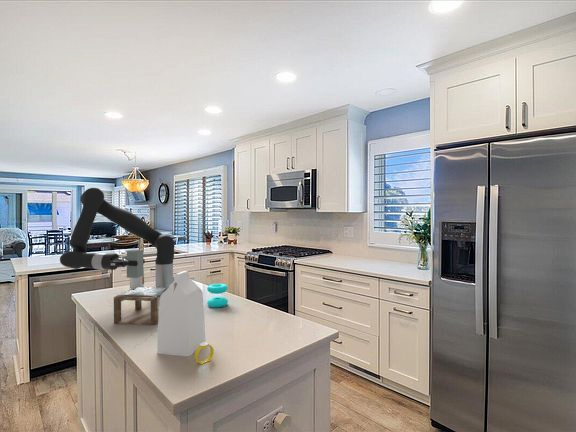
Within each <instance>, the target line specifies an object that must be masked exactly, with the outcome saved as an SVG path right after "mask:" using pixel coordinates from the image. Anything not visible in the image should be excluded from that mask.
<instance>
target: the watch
mask: <svg viewBox="0 0 576 432" xmlns="http://www.w3.org/2000/svg"><path fill="white" fill-rule="evenodd" d="M208 347H209V349H210V352H209V354H208V357H207V358H206V359H204V360H201V361H199V354H200V351H201V350H202V349H205V348H208ZM213 356H214V347H213V346H212V344H210V343H209V341H206V342H202V343H200V346H199V347H198V348H197V350H196V351H195V352H194V360H195V361H196V363H198V364H200V365H203V364H202V363H204V364H206V363H208V362H207V361H209V362H210V361H211V360H212V359H213ZM205 361H206V363H205Z"/></svg>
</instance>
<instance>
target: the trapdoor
mask: <svg viewBox="0 0 576 432" xmlns="http://www.w3.org/2000/svg"><path fill="white" fill-rule="evenodd" d="M166 290H167V288H156V287H154V288H150V287H147V286H144V287H139V288H136V289H134V290H133V289H129V290H126V291H124V292H122V293H119V294H117V295H116V296H131V297H158V296H157V295H159V294H161V293H163V292H165V291H166ZM124 301H125V300H121V302H124Z"/></svg>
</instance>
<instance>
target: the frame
mask: <svg viewBox="0 0 576 432" xmlns="http://www.w3.org/2000/svg"><path fill="white" fill-rule="evenodd" d="M136 288H139V287H136ZM136 288H135V289H136ZM150 288H155V287H150ZM167 289H168V288H167ZM121 300H124V301H134V305H135V306H134V310H132V311H130V312H129V313H126V314H125V315H123V316H122V301H121ZM158 300H159V298H158V296H155V297H131V296H117V295H116V296H113V324H119V325H120V324H121V325H122V324H123V325H145V326H146V325H149V326H155V325H156V326H157V325H158V319H159V302H158ZM143 301H144V302H150V308H142V307H143V305H142V304H143V303H142V302H143Z"/></svg>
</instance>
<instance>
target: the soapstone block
mask: <svg viewBox="0 0 576 432" xmlns="http://www.w3.org/2000/svg"><path fill="white" fill-rule="evenodd" d="M126 257H127V260H128V261H138V265H137V266H126V278H127V279H128V278H129V279H130V278H138V277H141V276H143V267H144V264H143V259H144V249H135V248H134V249H130V250H129V249H128V250H126Z"/></svg>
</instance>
